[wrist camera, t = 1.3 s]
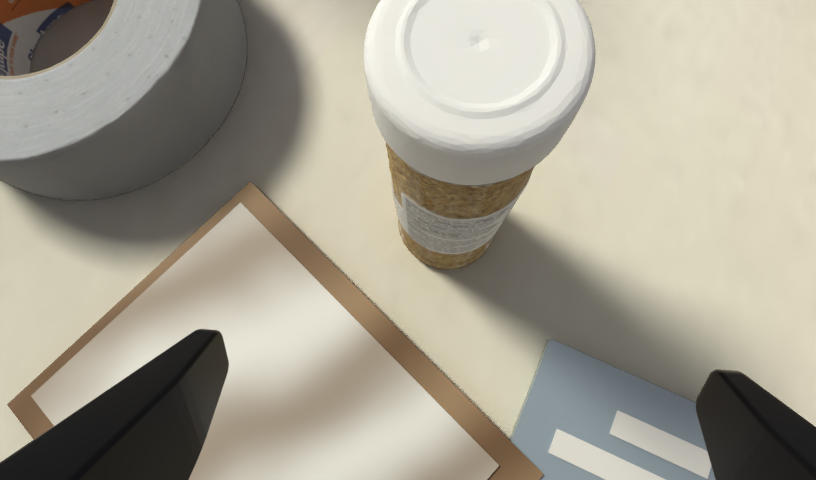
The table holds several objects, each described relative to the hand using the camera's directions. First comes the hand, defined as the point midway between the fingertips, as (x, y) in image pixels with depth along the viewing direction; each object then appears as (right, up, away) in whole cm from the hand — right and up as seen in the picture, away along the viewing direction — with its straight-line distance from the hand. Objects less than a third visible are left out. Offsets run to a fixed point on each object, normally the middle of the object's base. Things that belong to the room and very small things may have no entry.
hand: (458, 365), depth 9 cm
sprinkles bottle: (+1, +3, +13) cm, 14 cm away
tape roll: (-17, +12, +16) cm, 26 cm away
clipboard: (-7, -6, +11) cm, 15 cm away
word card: (+8, -6, +11) cm, 15 cm away
